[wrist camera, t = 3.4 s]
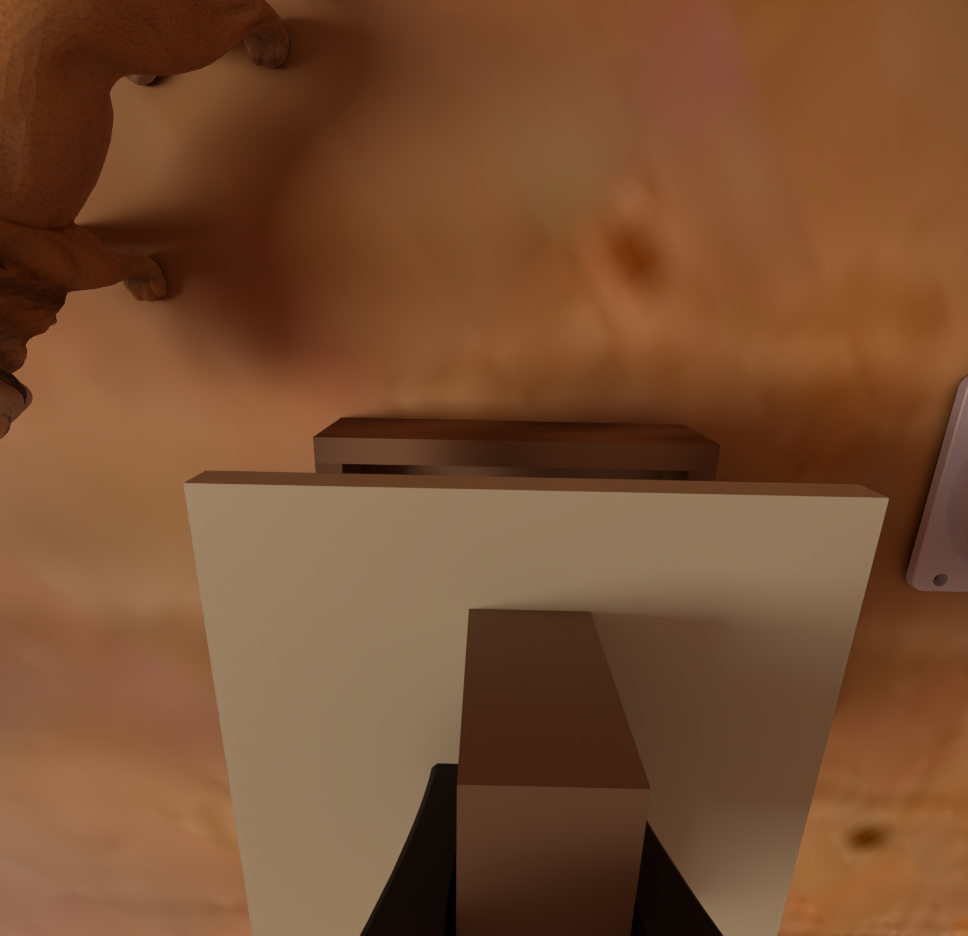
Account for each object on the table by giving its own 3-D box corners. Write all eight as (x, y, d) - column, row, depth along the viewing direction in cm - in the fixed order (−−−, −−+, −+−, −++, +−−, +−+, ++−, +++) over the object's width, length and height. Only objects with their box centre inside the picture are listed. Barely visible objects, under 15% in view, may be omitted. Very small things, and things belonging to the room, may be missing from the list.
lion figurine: (163, 421, 18) (-125, 515, 10) (13, 349, 18) (-442, 380, 9) (327, -32, 15) (92, -535, 6) (144, -145, 14) (-418, -899, 5)
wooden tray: (683, 424, 18) (719, 445, 15) (645, 708, 22) (670, 768, 19) (340, 417, 18) (313, 437, 15) (357, 702, 22) (337, 761, 19)
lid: (859, 484, 10) (1160, 621, 6) (750, 942, 14) (879, 1250, 9) (206, 470, 10) (-23, 595, 6) (269, 930, 14) (163, 1231, 9)
